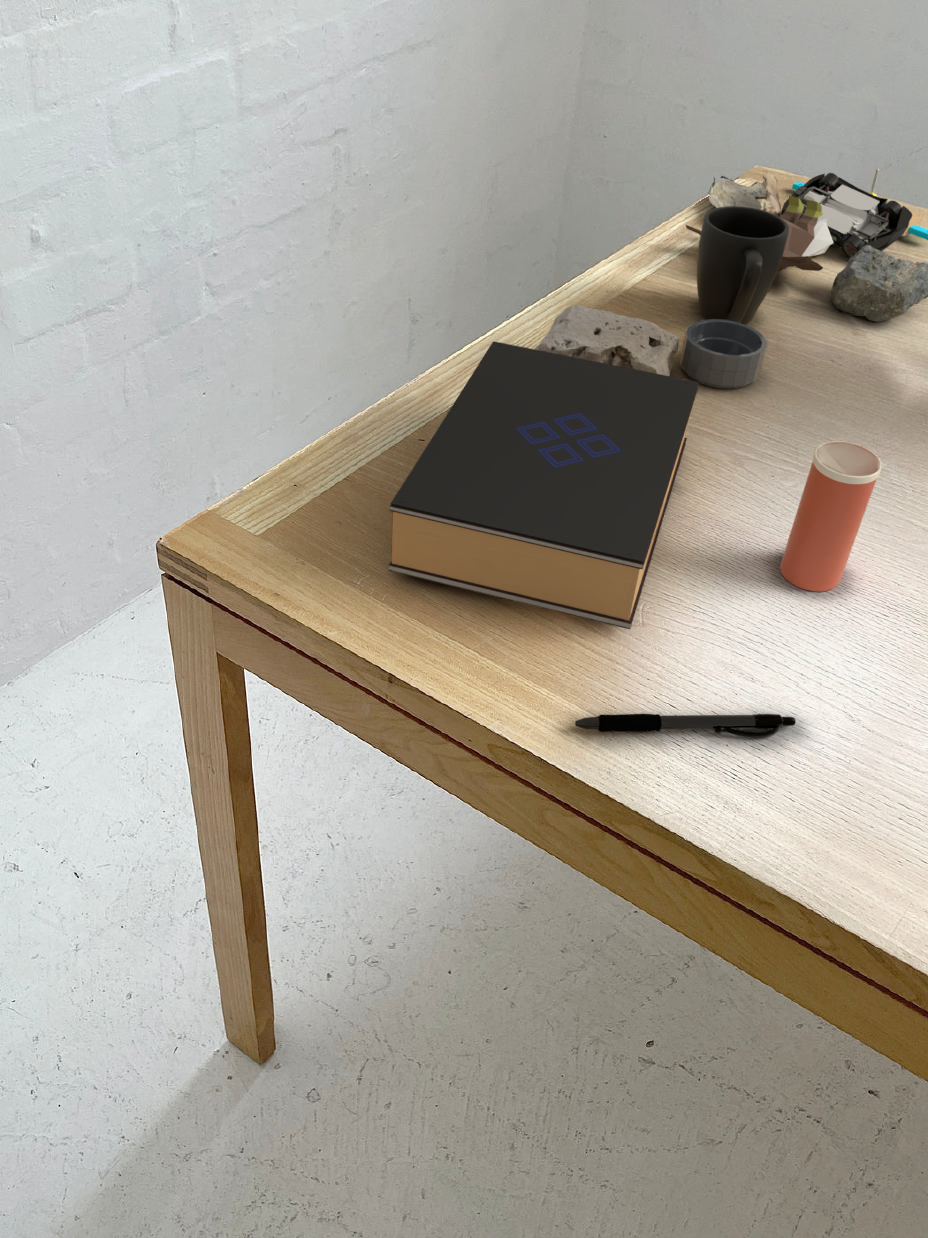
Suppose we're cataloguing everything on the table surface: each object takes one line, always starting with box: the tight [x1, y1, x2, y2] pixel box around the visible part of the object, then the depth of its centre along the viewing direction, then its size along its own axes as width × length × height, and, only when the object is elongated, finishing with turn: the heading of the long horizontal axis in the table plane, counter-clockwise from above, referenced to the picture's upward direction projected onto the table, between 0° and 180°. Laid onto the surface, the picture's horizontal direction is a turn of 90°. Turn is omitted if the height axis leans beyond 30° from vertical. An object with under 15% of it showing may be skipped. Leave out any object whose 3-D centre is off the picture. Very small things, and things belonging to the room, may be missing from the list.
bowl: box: [679, 319, 768, 390], centre depth 105 cm, size 7×7×4 cm
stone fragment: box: [695, 170, 782, 240], centre depth 135 cm, size 19×8×5 cm
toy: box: [685, 195, 834, 272], centre depth 122 cm, size 16×16×7 cm
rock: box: [830, 245, 928, 323], centre depth 118 cm, size 12×10×5 cm
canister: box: [779, 440, 883, 593], centre depth 80 cm, size 4×4×10 cm
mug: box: [696, 206, 789, 325], centre depth 111 cm, size 8×12×10 cm
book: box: [388, 341, 700, 630], centre depth 85 cm, size 17×25×7 cm
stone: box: [534, 304, 680, 376], centre depth 103 cm, size 13×6×10 cm
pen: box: [574, 713, 797, 739], centre depth 70 cm, size 14×2×1 cm, turn 95°
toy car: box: [781, 172, 913, 259], centre depth 131 cm, size 7×15×4 cm, turn 36°
